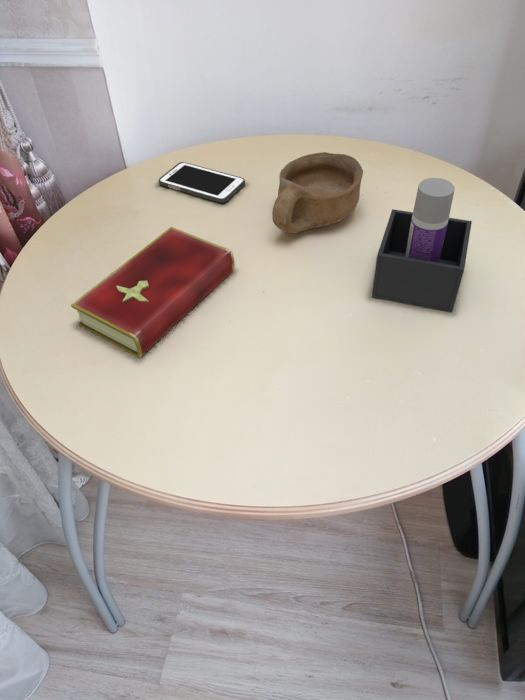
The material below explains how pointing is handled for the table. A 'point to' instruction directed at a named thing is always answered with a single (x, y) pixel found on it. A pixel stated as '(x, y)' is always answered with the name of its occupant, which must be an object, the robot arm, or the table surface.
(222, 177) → the cell phone
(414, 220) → the container
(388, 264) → the bin
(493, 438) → the table surface
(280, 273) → the table surface
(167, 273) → the hardcover book
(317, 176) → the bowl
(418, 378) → the table surface
